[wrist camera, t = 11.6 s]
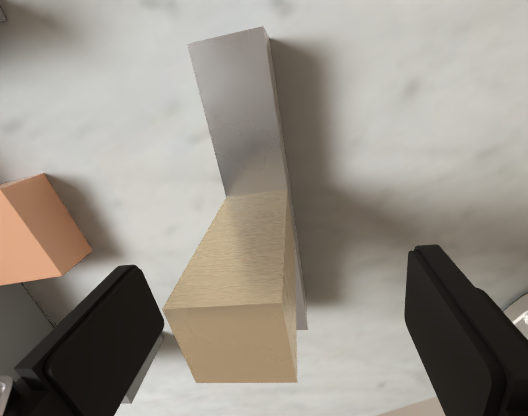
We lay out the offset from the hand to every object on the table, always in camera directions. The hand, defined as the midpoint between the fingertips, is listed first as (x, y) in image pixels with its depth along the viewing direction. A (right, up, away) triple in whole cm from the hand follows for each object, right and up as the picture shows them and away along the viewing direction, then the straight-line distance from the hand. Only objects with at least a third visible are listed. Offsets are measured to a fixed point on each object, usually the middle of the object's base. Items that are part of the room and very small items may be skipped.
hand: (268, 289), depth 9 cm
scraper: (0, +4, +7) cm, 8 cm away
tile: (-16, +2, +9) cm, 19 cm away
